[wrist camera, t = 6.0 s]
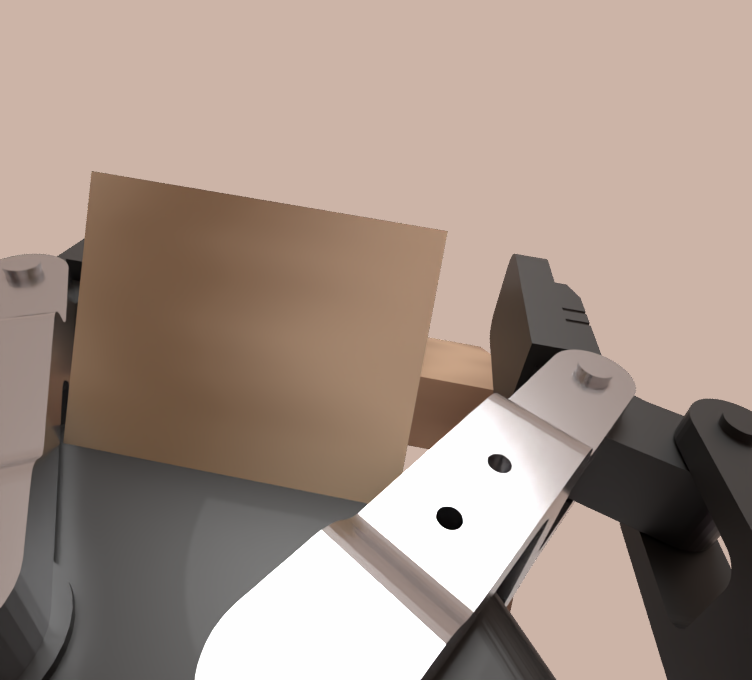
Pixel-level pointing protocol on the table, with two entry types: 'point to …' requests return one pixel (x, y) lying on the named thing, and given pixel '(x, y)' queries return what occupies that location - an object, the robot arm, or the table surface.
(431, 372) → the walnut stool
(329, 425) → the birch bar
